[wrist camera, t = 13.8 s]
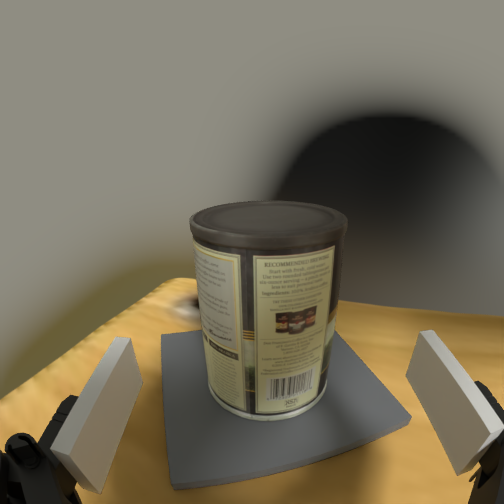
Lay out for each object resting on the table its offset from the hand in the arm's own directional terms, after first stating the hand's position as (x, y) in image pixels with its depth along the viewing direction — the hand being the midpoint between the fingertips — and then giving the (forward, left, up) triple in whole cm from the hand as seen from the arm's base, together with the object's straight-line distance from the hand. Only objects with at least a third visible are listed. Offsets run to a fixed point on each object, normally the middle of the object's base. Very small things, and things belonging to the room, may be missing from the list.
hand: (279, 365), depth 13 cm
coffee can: (-2, -9, -10) cm, 14 cm away
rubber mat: (-2, -9, -10) cm, 14 cm away
